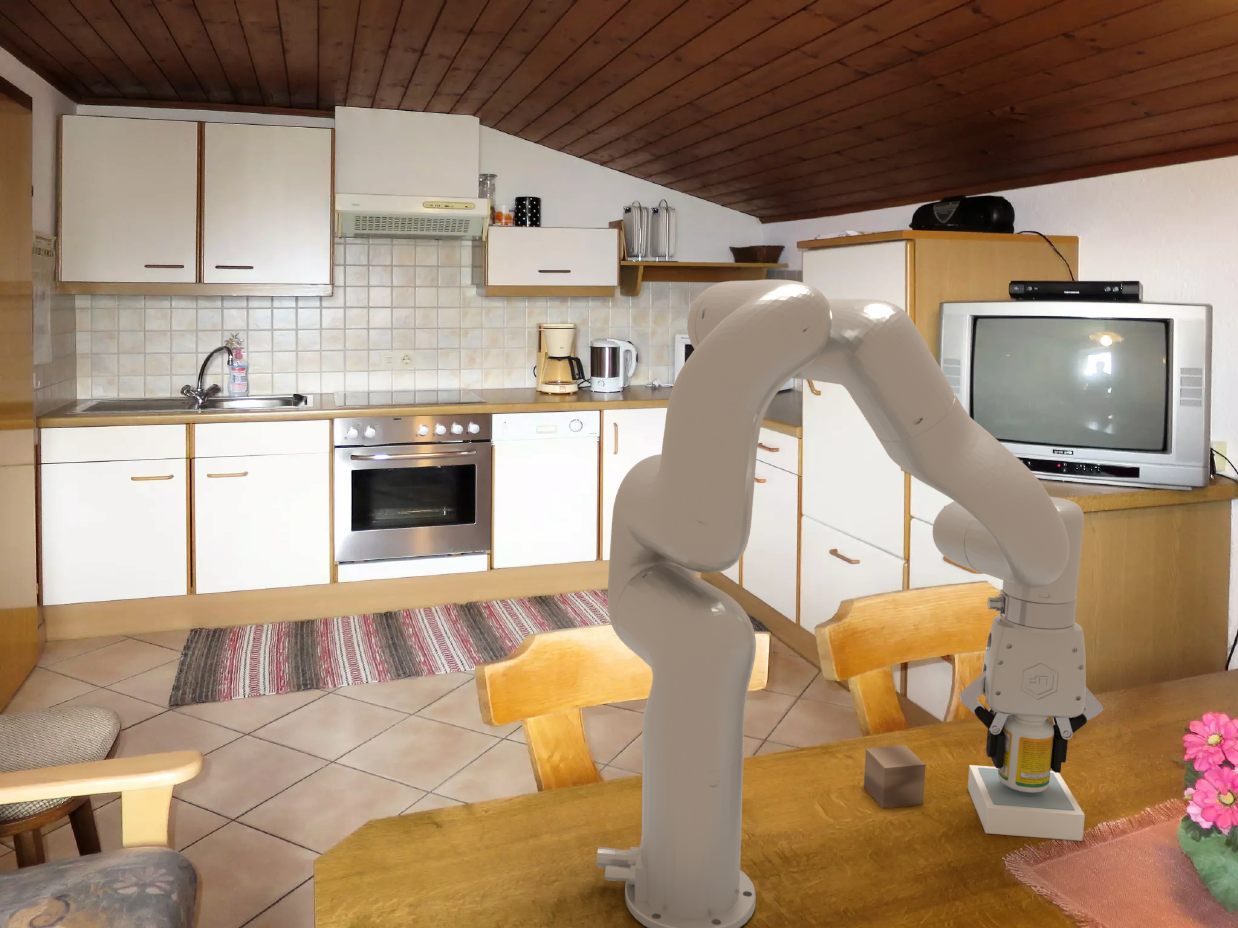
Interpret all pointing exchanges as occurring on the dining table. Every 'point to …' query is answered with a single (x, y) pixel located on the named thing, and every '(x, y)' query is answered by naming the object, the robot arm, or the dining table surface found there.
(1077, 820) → the base
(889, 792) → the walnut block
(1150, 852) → the dining table surface
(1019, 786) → the supplement bottle
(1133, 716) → the dining table surface
